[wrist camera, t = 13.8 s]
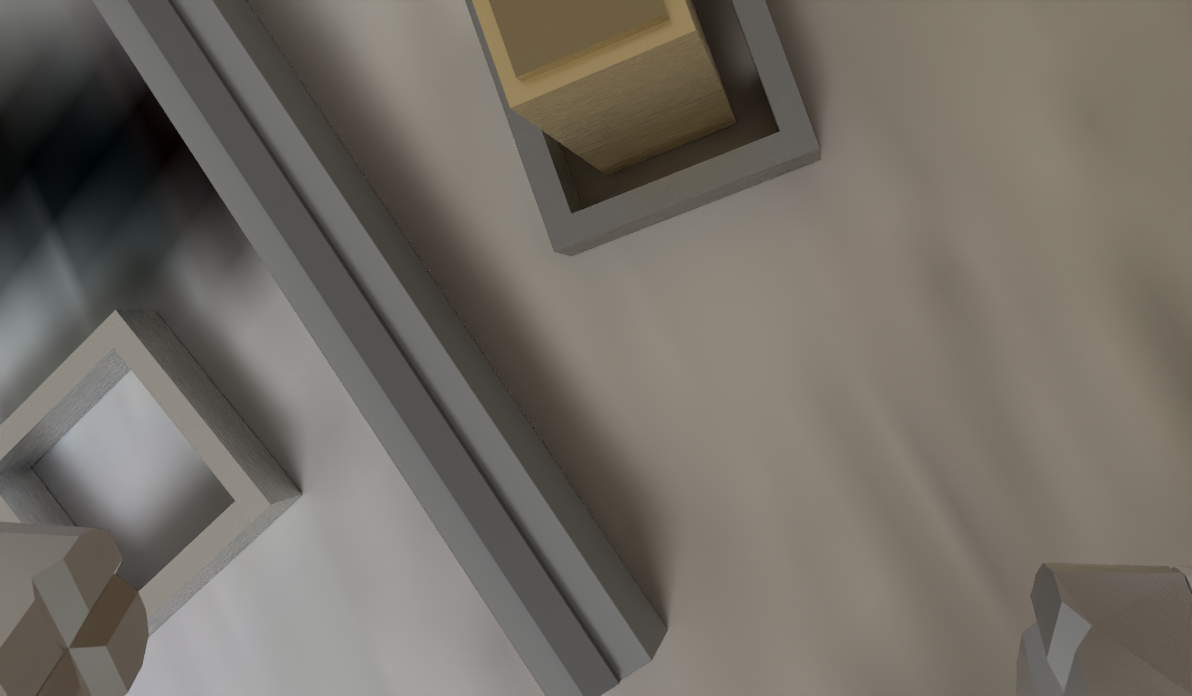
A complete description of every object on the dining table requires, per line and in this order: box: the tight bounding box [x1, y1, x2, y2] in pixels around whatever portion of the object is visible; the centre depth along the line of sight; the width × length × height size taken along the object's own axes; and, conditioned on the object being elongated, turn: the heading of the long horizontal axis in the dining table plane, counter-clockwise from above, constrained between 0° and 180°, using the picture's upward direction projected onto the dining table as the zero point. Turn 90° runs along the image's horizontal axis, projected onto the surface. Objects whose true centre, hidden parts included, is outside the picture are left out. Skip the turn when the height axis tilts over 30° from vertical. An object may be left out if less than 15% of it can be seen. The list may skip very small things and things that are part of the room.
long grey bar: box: [93, 0, 668, 696], centre depth 32 cm, size 26×3×3 cm, turn 35°
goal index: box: [465, 0, 820, 256], centre depth 31 cm, size 8×8×2 cm
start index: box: [0, 310, 302, 637], centre depth 34 cm, size 8×8×2 cm
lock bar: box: [472, 0, 737, 175], centre depth 27 cm, size 4×4×10 cm
